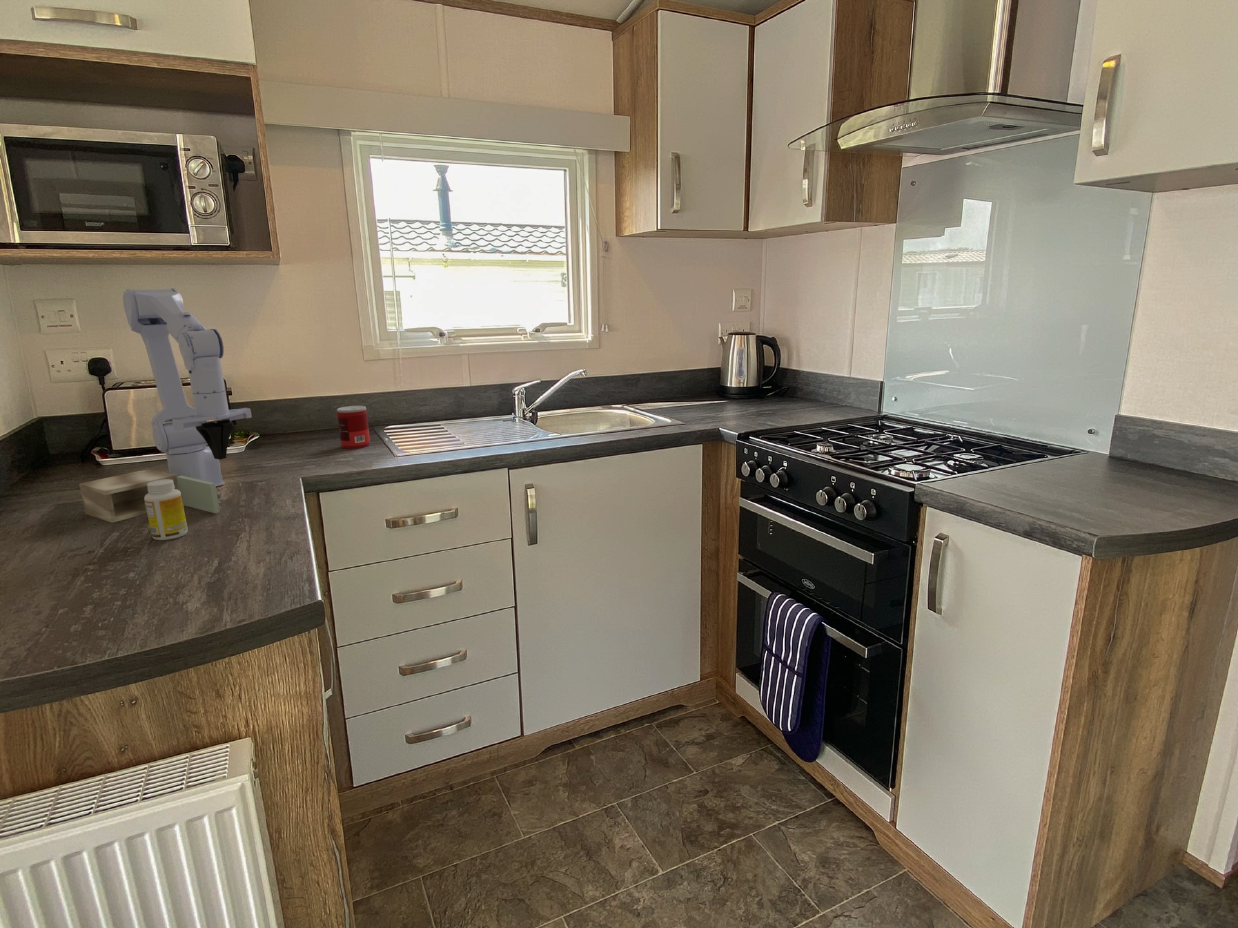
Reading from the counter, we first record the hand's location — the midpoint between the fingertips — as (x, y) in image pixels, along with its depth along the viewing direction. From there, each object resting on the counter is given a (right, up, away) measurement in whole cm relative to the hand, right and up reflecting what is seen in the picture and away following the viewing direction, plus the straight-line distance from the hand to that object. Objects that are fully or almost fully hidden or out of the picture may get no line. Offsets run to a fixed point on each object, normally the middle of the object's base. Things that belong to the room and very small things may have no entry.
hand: (220, 458), depth 139 cm
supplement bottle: (-1, -14, -14) cm, 20 cm away
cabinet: (-19, -10, +2) cm, 21 cm away
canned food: (+6, +4, +57) cm, 57 cm away
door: (-4, -10, +1) cm, 11 cm away
